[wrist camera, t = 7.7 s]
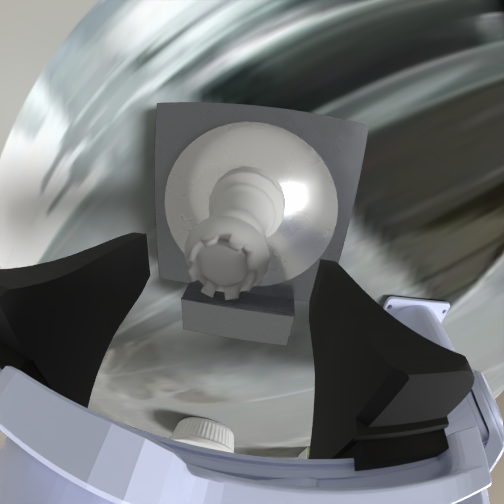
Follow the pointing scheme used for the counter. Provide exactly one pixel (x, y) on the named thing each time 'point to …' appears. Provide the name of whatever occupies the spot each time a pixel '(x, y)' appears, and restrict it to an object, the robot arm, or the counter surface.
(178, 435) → the ramekin
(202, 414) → the counter surface
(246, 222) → the rook chess piece
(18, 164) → the counter surface
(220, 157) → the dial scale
